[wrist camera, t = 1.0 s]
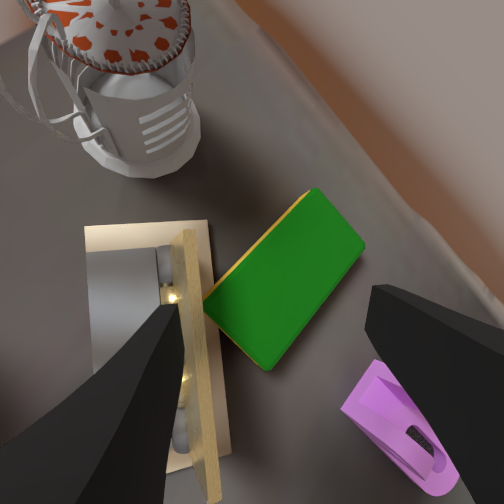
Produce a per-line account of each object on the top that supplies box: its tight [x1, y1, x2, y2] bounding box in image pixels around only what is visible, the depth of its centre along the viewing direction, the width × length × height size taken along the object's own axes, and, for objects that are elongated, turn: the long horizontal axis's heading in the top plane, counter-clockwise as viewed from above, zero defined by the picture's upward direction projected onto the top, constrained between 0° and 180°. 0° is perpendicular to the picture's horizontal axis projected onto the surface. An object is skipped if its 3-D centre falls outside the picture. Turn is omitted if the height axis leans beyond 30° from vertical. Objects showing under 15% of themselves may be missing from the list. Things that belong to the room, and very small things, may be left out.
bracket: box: [341, 359, 459, 496], centre depth 22 cm, size 13×6×7 cm, turn 46°
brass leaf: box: [160, 229, 222, 504], centre depth 17 cm, size 14×7×2 cm
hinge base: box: [84, 220, 232, 474], centre depth 19 cm, size 18×9×3 cm, turn 7°
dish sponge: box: [202, 188, 365, 371], centre depth 22 cm, size 7×14×2 cm, turn 135°
